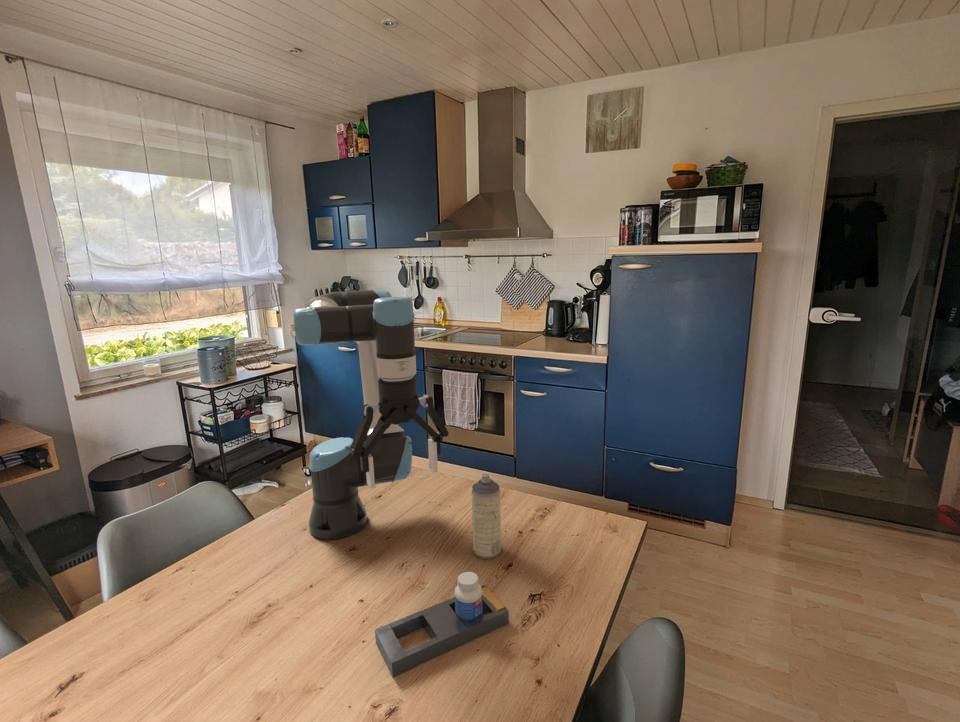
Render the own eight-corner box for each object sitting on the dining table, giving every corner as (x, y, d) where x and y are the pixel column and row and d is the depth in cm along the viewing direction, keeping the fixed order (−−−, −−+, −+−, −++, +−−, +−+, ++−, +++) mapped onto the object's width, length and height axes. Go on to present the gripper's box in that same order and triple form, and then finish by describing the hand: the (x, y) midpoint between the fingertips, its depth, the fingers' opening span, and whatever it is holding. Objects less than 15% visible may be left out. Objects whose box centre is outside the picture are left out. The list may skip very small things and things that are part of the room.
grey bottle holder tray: (375, 643, 92) (374, 628, 91) (485, 597, 103) (484, 583, 103) (392, 677, 84) (391, 662, 83) (508, 623, 96) (508, 609, 95)
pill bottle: (480, 633, 93) (478, 589, 91) (453, 630, 94) (450, 586, 92) (485, 613, 99) (483, 570, 97) (459, 610, 100) (457, 568, 97)
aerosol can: (504, 545, 122) (503, 471, 117) (496, 561, 115) (494, 483, 111) (478, 540, 124) (477, 467, 120) (469, 556, 118) (467, 479, 113)
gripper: (338, 391, 86) (347, 501, 90) (462, 371, 98) (465, 469, 103) (327, 382, 92) (337, 485, 97) (445, 365, 105) (449, 457, 109)
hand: (403, 477), depth 100 cm, fingers open, 13 cm apart
